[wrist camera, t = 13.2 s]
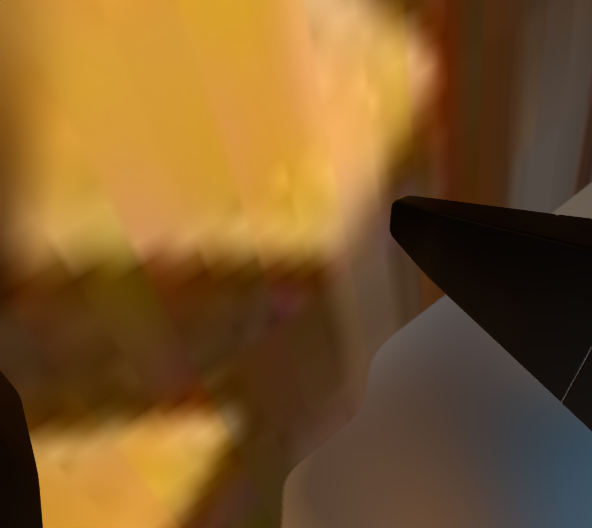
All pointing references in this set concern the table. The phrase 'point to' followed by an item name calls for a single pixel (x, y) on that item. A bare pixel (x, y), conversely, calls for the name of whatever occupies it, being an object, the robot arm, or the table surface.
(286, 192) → the table surface
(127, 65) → the table surface
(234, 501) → the table surface
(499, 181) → the table surface
